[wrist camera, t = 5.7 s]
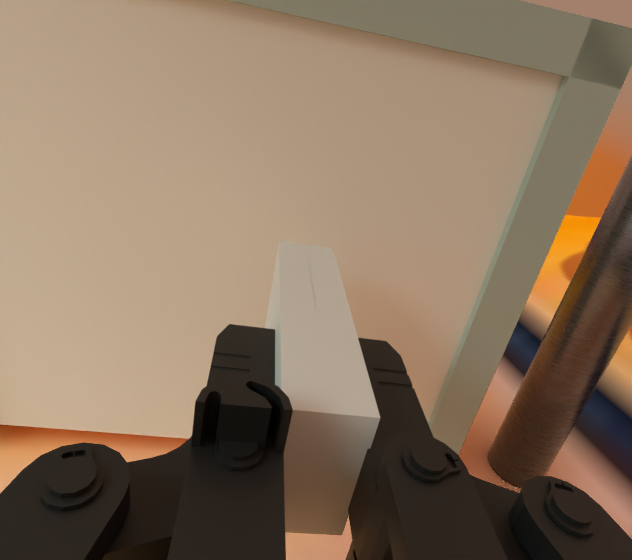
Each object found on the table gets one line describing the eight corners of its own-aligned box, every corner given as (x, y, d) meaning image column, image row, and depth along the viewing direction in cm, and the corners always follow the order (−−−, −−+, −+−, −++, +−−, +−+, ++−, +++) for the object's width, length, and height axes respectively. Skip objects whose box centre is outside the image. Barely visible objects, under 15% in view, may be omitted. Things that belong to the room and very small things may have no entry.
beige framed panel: (-65, 425, 16) (-201, -180, 9) (-28, 384, 18) (-117, -140, 11) (453, 464, 19) (646, 31, 12) (437, 425, 21) (594, 34, 14)
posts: (-166, 442, 16) (-498, -492, 7) (-113, 395, 18) (-322, -369, 9) (552, 490, 20) (879, -61, 11) (525, 447, 22) (783, -43, 14)
